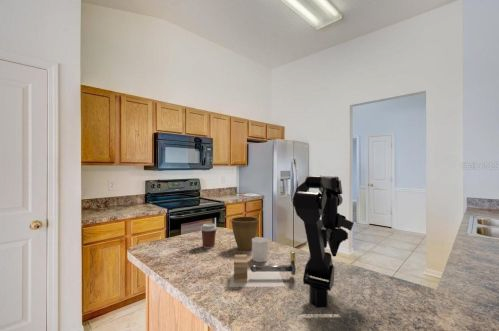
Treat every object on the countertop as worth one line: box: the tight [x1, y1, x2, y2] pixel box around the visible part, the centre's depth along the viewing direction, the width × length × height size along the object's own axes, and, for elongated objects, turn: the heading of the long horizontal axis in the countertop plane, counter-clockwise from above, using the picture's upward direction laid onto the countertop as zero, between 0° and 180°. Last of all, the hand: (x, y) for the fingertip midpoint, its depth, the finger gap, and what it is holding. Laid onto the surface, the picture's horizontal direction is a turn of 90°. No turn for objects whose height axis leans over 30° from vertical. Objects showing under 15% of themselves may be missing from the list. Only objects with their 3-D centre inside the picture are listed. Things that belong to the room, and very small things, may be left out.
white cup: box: [251, 236, 269, 263], centre depth 111 cm, size 8×8×10 cm
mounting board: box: [228, 269, 286, 288], centre depth 92 cm, size 14×20×1 cm
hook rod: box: [250, 251, 296, 276], centre depth 92 cm, size 5×18×9 cm, turn 92°
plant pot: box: [230, 216, 259, 251], centre depth 129 cm, size 15×15×16 cm
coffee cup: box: [200, 223, 218, 249], centre depth 131 cm, size 9×9×12 cm
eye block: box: [233, 254, 248, 283], centre depth 92 cm, size 8×5×8 cm, turn 2°
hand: (329, 251), depth 88 cm, fingers open, 9 cm apart
